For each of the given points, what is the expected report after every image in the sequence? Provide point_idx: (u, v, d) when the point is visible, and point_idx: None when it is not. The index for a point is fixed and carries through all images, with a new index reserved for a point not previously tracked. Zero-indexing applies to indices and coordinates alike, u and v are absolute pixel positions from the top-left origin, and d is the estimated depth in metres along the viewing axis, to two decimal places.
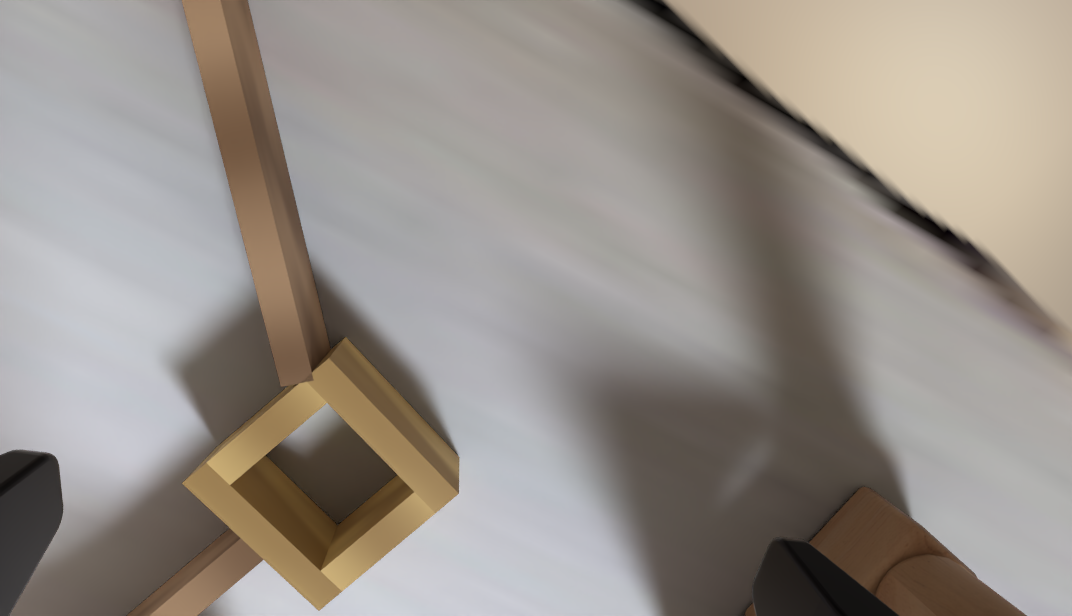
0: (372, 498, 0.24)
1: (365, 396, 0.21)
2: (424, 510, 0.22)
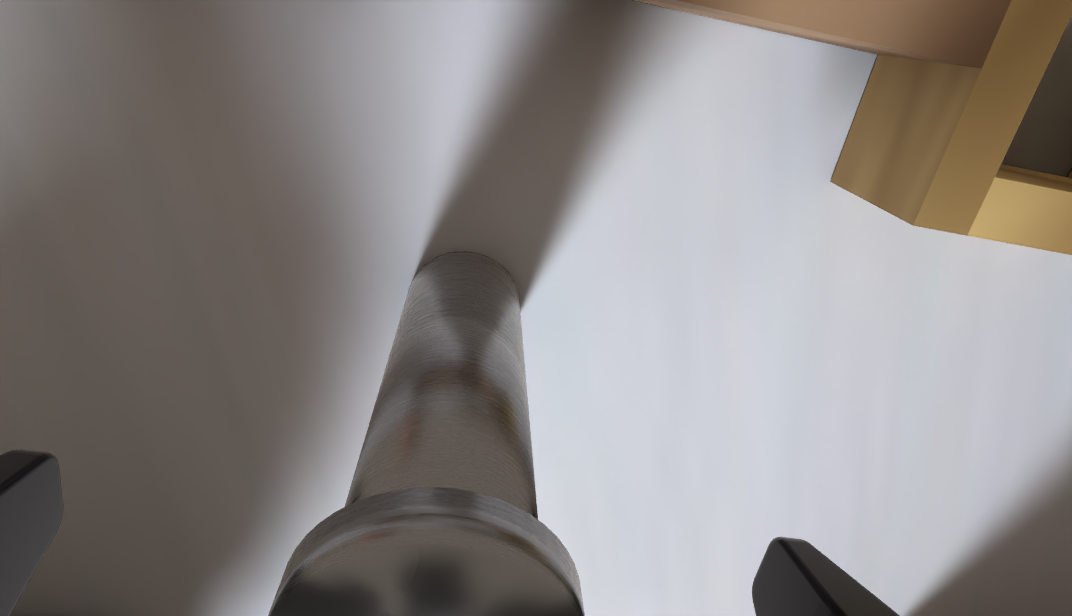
0: None
1: None
2: None
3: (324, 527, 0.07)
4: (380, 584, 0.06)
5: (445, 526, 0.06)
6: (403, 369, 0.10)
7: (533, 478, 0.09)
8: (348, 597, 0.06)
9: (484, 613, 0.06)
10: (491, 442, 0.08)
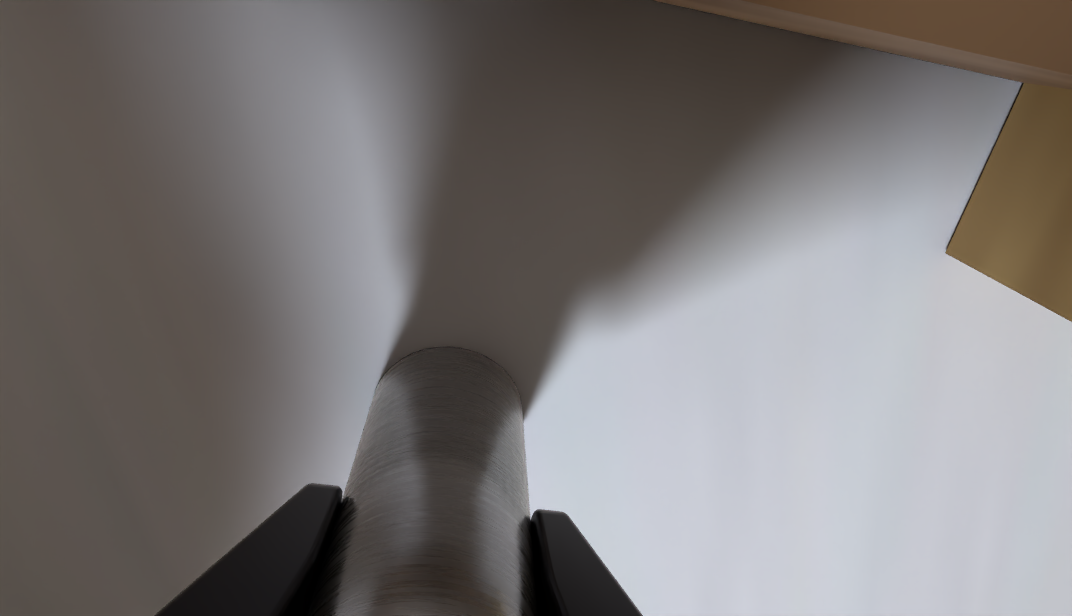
0: None
1: None
2: None
3: None
4: None
5: None
6: (339, 597, 0.06)
7: None
8: None
9: None
10: None
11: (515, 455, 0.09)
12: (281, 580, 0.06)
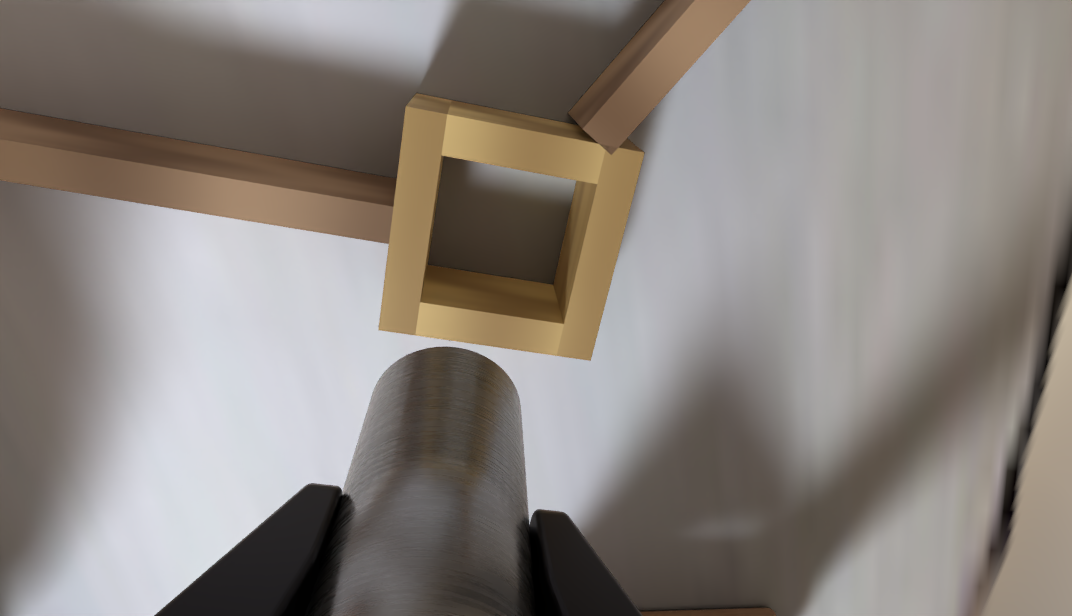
0: (483, 276, 0.21)
1: (628, 213, 0.18)
2: (552, 345, 0.19)
3: None
4: None
5: None
6: (336, 598, 0.06)
7: None
8: None
9: None
10: None
11: (514, 455, 0.09)
12: (281, 580, 0.06)
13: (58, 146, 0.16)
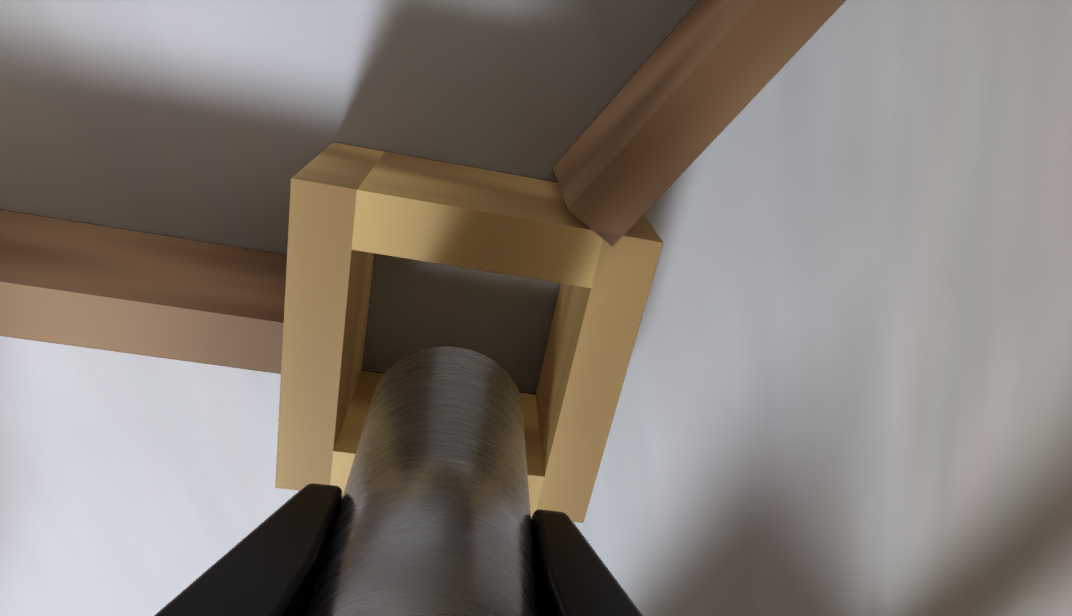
0: None
1: (638, 328, 0.12)
2: None
3: None
4: None
5: None
6: (338, 598, 0.06)
7: None
8: None
9: None
10: None
11: (515, 455, 0.09)
12: (281, 580, 0.06)
13: None
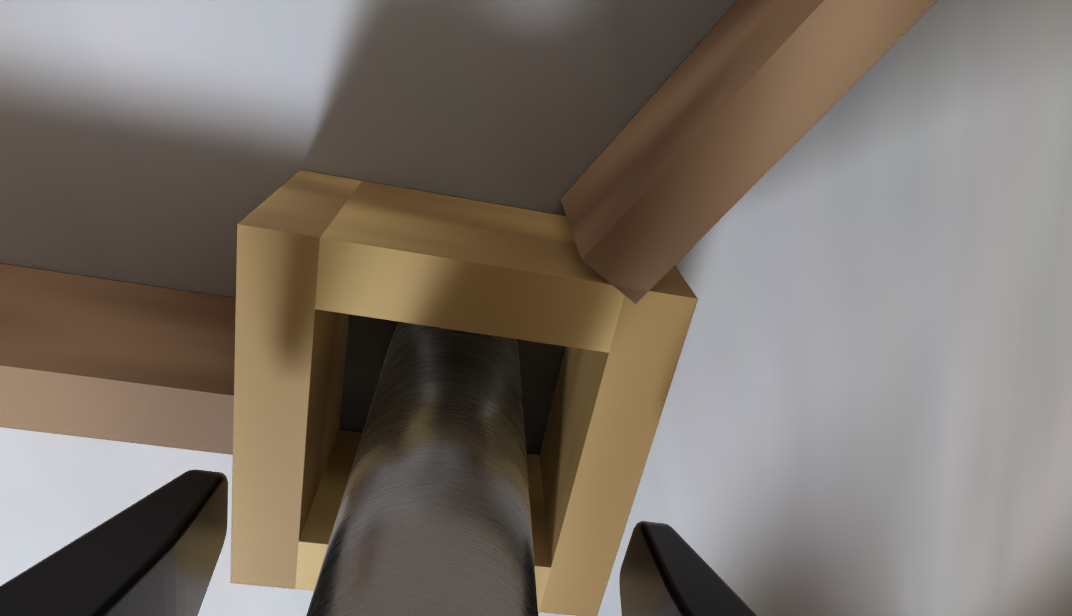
0: None
1: (665, 399, 0.10)
2: None
3: None
4: None
5: None
6: (373, 462, 0.08)
7: None
8: None
9: None
10: (483, 580, 0.06)
11: (512, 377, 0.11)
12: (127, 565, 0.06)
13: None
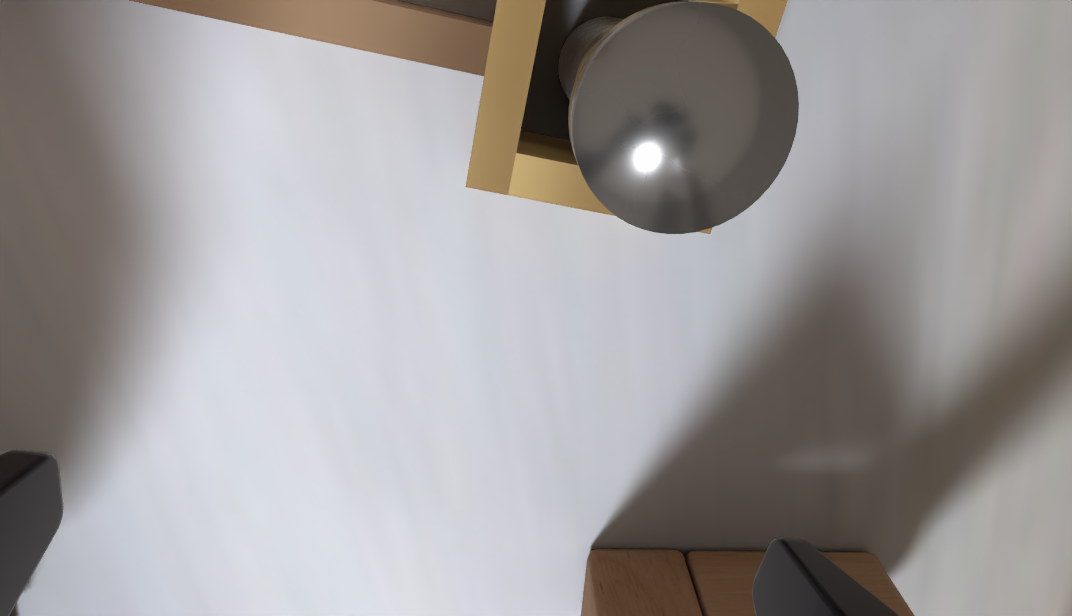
0: None
1: None
2: None
3: (617, 24, 0.10)
4: (670, 35, 0.09)
5: None
6: (603, 34, 0.13)
7: None
8: (647, 46, 0.09)
9: (734, 67, 0.09)
10: None
11: None
12: None
13: None
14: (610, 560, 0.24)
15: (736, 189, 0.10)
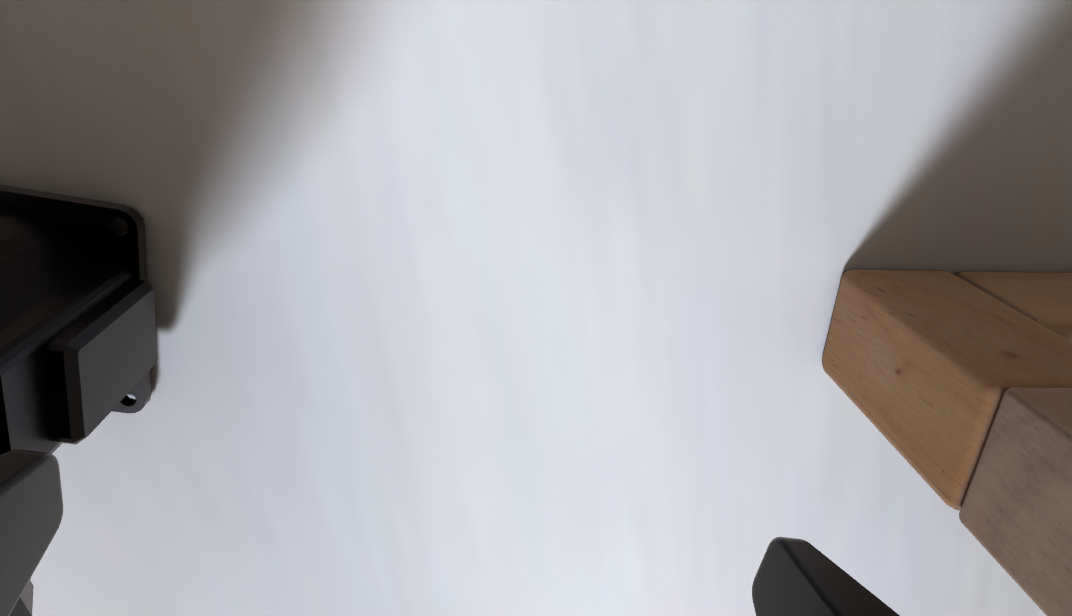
0: None
1: None
2: None
3: None
4: None
5: None
6: None
7: None
8: None
9: None
10: None
11: None
12: None
13: None
14: (875, 274, 0.20)
15: None
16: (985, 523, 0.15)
